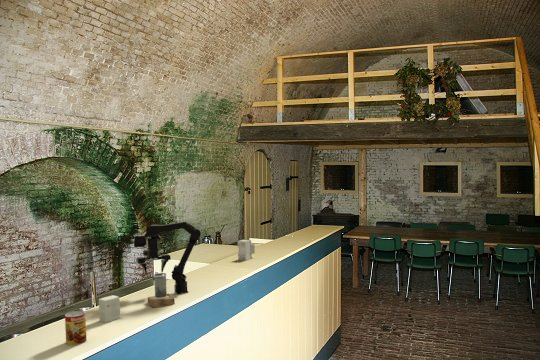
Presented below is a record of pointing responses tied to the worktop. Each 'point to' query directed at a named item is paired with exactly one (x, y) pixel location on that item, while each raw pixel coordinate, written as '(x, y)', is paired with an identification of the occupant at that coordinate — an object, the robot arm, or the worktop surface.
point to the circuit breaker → (245, 250)
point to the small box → (109, 308)
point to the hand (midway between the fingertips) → (154, 273)
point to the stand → (161, 301)
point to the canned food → (75, 327)
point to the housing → (160, 286)
